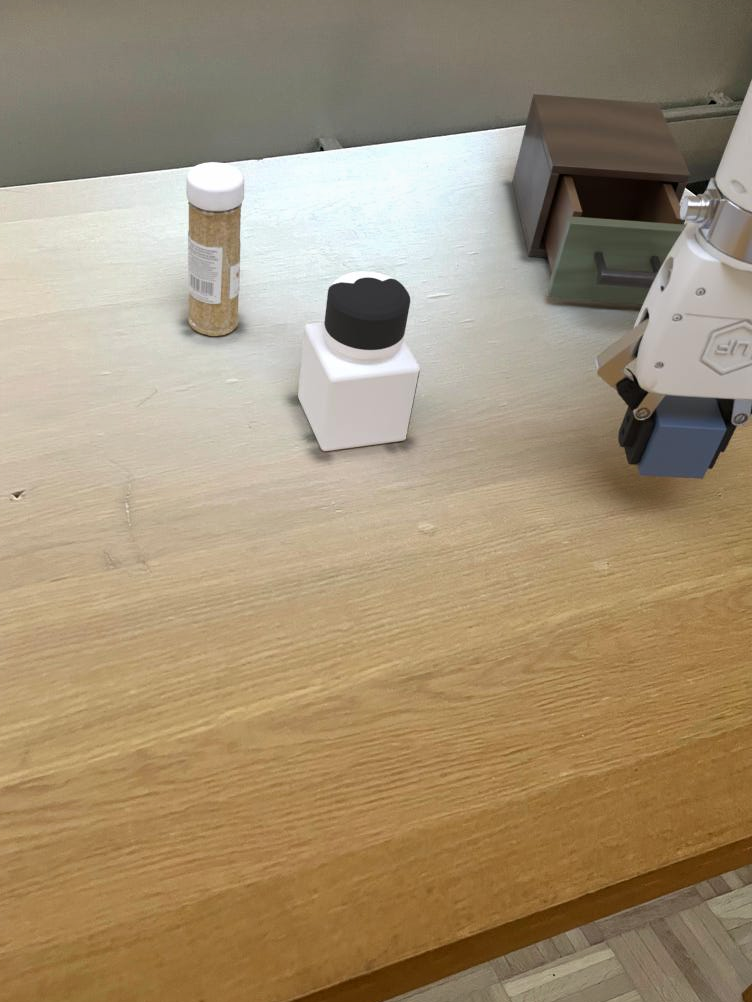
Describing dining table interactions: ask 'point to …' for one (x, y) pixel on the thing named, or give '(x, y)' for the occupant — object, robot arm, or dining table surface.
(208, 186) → the spice jar
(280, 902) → the dining table surface
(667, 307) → the robot arm
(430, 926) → the dining table surface
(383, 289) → the medicine bottle
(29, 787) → the dining table surface
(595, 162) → the cabinet
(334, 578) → the dining table surface
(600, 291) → the drawer
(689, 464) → the block
